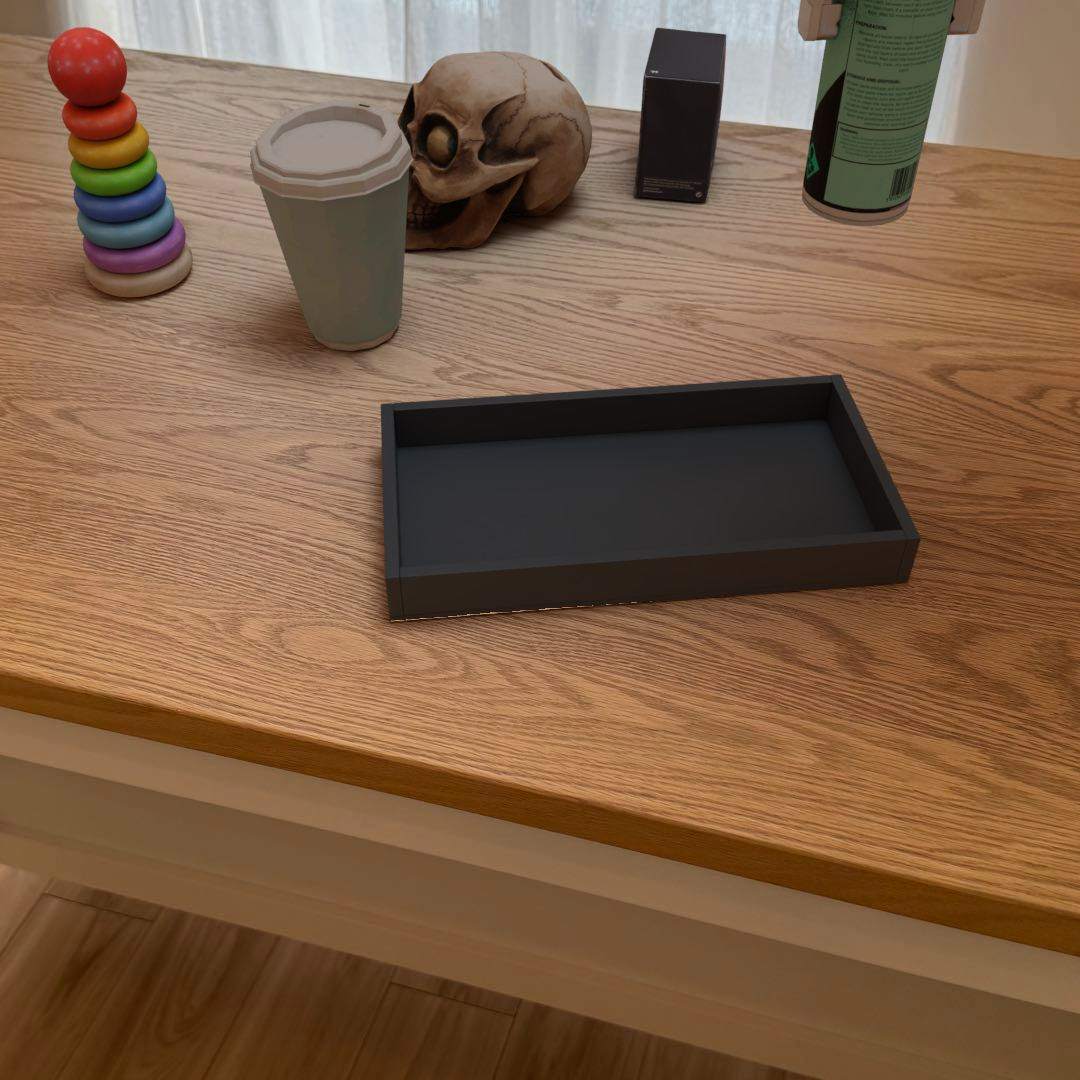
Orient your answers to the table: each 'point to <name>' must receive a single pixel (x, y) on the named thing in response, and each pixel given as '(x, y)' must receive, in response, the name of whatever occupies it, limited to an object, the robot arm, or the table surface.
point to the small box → (680, 114)
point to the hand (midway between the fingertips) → (886, 33)
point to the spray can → (874, 109)
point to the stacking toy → (115, 172)
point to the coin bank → (489, 145)
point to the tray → (635, 497)
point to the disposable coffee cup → (339, 215)
